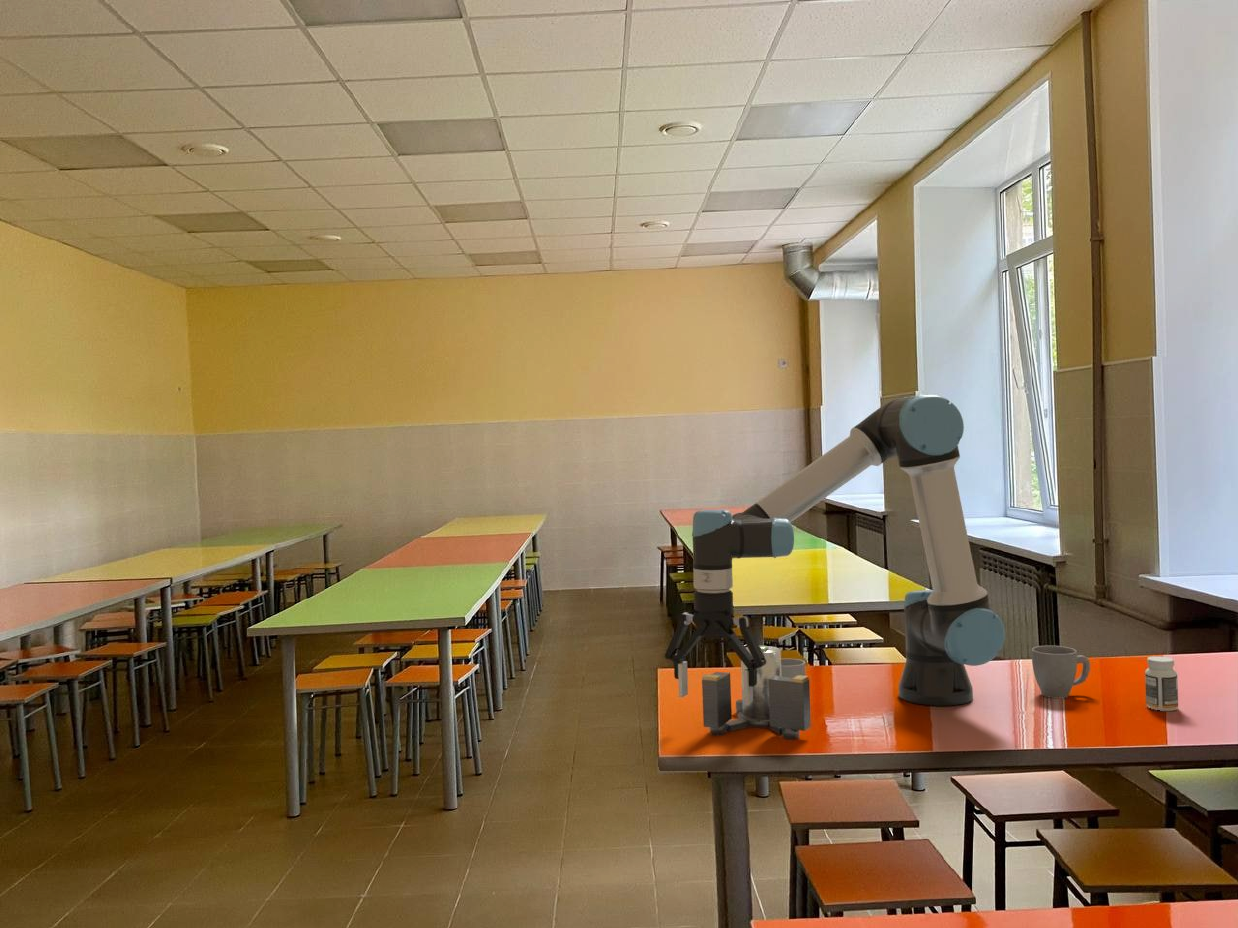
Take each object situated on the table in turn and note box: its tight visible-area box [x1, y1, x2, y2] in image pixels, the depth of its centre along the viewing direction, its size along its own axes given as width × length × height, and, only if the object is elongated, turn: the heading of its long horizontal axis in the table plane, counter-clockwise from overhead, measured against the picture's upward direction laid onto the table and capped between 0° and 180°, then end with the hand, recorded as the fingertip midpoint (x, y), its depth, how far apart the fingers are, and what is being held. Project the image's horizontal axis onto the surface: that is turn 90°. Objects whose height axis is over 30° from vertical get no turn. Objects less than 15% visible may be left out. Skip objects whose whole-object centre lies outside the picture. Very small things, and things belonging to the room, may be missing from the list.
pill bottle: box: [1144, 656, 1179, 712], centre depth 197 cm, size 6×6×10 cm
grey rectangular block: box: [768, 675, 812, 740], centre depth 187 cm, size 7×3×12 cm, turn 57°
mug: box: [1031, 645, 1091, 699], centre depth 210 cm, size 12×9×10 cm
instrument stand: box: [726, 645, 782, 735], centre depth 198 cm, size 13×16×15 cm
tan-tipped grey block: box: [701, 671, 733, 736], centre depth 191 cm, size 7×3×12 cm, turn 152°
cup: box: [781, 658, 806, 678], centre depth 210 cm, size 7×10×9 cm
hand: (715, 699), depth 191 cm, fingers open, 13 cm apart
